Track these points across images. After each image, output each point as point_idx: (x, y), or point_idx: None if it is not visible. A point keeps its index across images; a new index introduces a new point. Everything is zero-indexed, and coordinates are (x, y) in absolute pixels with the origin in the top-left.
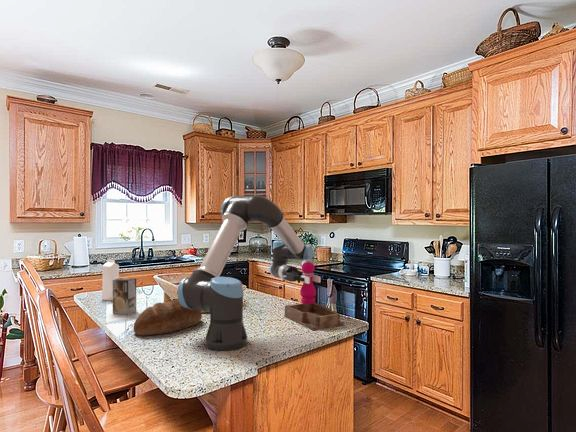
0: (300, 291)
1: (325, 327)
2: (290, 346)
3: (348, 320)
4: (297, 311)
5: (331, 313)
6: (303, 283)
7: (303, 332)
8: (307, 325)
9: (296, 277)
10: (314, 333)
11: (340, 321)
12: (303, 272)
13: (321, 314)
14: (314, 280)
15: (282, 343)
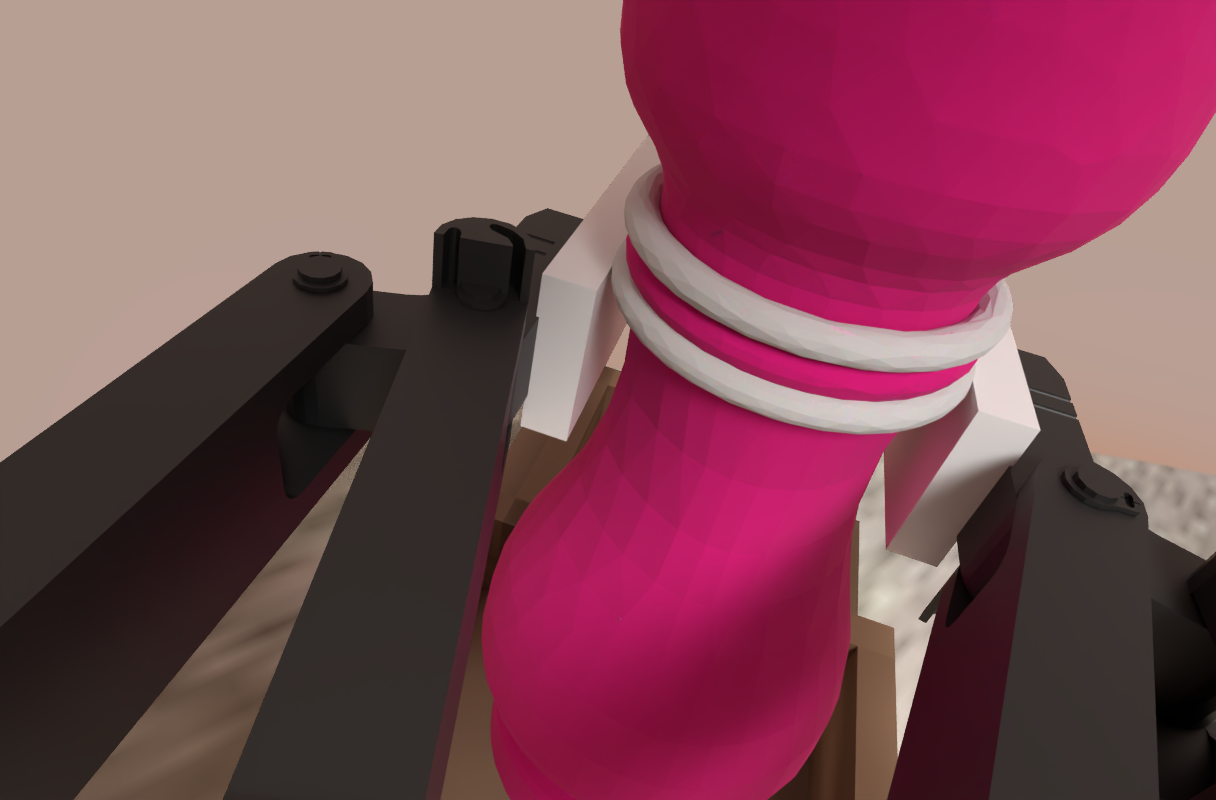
0: (829, 719)
1: None
2: (1153, 485)
3: (359, 452)
4: (895, 739)
5: (584, 442)
6: (850, 538)
7: (947, 565)
8: (856, 591)
9: (1174, 555)
10: (879, 496)
11: (517, 444)
12: (985, 292)
13: None
14: (617, 328)
15: (1196, 544)
